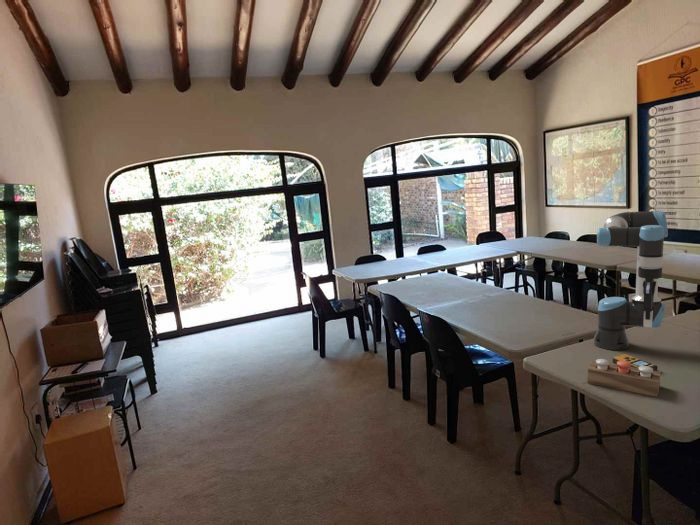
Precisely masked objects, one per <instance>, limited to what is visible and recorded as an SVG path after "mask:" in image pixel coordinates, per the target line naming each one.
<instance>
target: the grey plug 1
mask: <svg viewBox="0 0 700 525" xmlns="http://www.w3.org/2000/svg"><path fill="white" fill-rule="evenodd" d="M595 361H596V364H597V365H598V369H603V370H608V365H609V363H610V361H609V360H608V359H605V358H597V359H596V360H595Z"/></svg>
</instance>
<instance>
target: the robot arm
mask: <svg viewBox="0 0 700 525" xmlns="http://www.w3.org/2000/svg"><path fill="white" fill-rule="evenodd" d="M668 235H669V231H668V222H667V216H666V213H665V212H663V211H658V210H657V211H654V210H651V211H625V212H620V213H619V212H618V213H617V214H613V215H611V216H610V217H608V218H607V219H606V220H605V222H604V224H603V227H599V228H598V229H597V231H596V244H597V245H598V247H607V248H608V247H636V248H637V250H636V251H637V252H636V272H635V273H636V275H635V277H636V278H635V295H634V296H632V297H631V301H628V300H627V299H626V298H625V297H622V296H610V297H605V298H602V299H600V300H599V302H598V306H597V307H598V308H597V311H598V314H597V315H598V317H597V318H598V319H597V329H596V332H595V334H594V337H593V344H594V346H596V347H598V348H600V349H604V350H611V351H621V350H622V351H623V350H626V349H628V348H629V347H630V341H629V338H628V335H627V332H626V327H636V328H637V327H638V328H646V329H659V328H660V327H661V326H662V323H663V319H664V316H665V308H666V305H665V303H663V302H662V299H661V298H660V297H659V296H658V290H659V289H658V287H659V279H661V278H662V277H663V268H662V267H663V265H664V264H663V263H664V255H663V254H664V242H665V241H664V239H665V238H667V237H668Z"/></svg>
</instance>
